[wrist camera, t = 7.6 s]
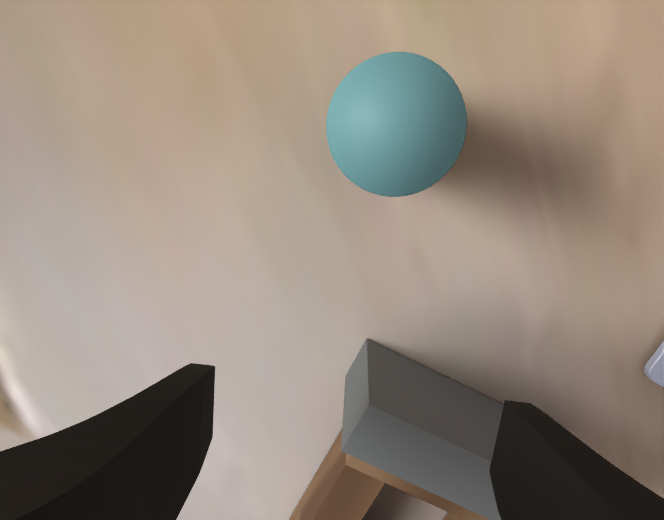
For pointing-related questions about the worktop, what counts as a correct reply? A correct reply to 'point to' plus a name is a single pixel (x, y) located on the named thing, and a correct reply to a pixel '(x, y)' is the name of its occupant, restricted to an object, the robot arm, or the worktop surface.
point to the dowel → (396, 124)
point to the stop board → (421, 427)
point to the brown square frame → (359, 490)
